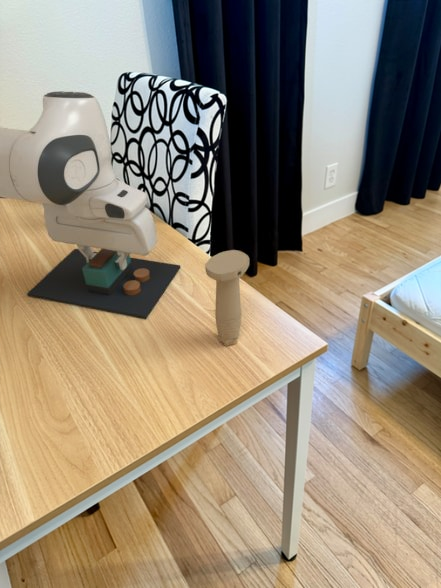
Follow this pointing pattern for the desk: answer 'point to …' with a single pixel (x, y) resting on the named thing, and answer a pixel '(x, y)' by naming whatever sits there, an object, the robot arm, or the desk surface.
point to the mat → (73, 290)
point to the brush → (104, 272)
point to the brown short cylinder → (132, 287)
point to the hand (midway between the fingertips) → (107, 265)
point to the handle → (227, 292)
